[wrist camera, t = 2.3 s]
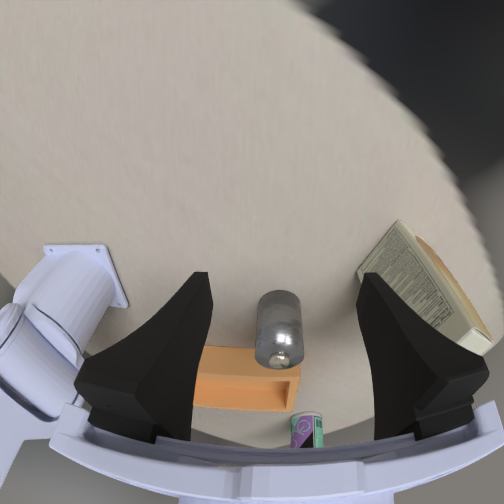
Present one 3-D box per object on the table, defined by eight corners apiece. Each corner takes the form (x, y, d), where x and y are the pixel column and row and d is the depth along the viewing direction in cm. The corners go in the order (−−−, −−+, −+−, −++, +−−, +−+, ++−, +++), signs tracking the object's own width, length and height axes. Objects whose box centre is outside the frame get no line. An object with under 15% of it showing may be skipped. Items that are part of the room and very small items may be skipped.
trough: (188, 382, 36) (183, 404, 33) (171, 342, 31) (163, 368, 28) (292, 388, 35) (292, 411, 32) (299, 348, 30) (300, 376, 27)
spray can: (296, 410, 40) (295, 519, 23) (326, 412, 40) (330, 516, 24) (287, 421, 43) (284, 519, 27) (314, 422, 43) (316, 517, 27)
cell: (258, 319, 27) (254, 374, 22) (258, 289, 25) (253, 348, 20) (298, 319, 27) (301, 375, 22) (301, 290, 25) (307, 348, 19)
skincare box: (386, 287, 24) (425, 400, 14) (354, 270, 23) (389, 395, 13) (429, 238, 21) (498, 345, 11) (400, 214, 20) (475, 329, 10)
